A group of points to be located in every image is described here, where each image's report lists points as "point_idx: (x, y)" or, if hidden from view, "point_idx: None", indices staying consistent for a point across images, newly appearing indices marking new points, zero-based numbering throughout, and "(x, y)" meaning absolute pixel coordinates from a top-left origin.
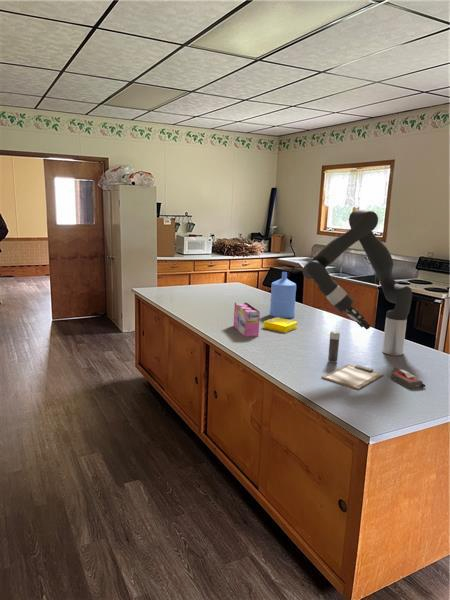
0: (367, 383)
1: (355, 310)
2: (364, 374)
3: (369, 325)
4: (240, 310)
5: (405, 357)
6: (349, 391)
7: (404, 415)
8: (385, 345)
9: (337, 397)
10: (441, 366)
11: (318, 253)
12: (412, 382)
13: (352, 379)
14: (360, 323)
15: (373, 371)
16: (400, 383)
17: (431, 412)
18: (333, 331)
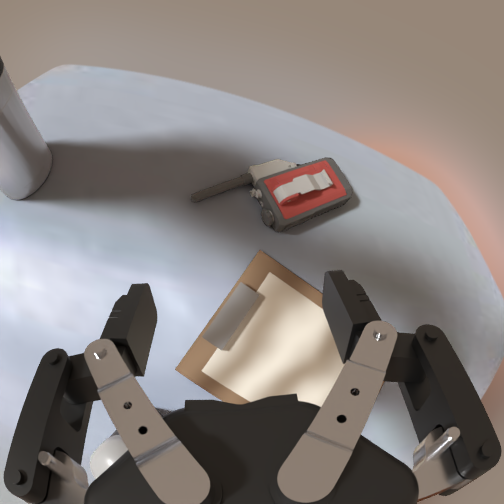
0: None
1: (486, 439)
2: (284, 321)
3: (343, 277)
4: None
5: (67, 141)
6: None
7: (468, 261)
8: (16, 182)
9: None
10: (143, 78)
11: None
12: (351, 188)
13: (342, 367)
14: (146, 331)
15: (239, 281)
16: (316, 215)
17: (442, 205)
18: (94, 473)
